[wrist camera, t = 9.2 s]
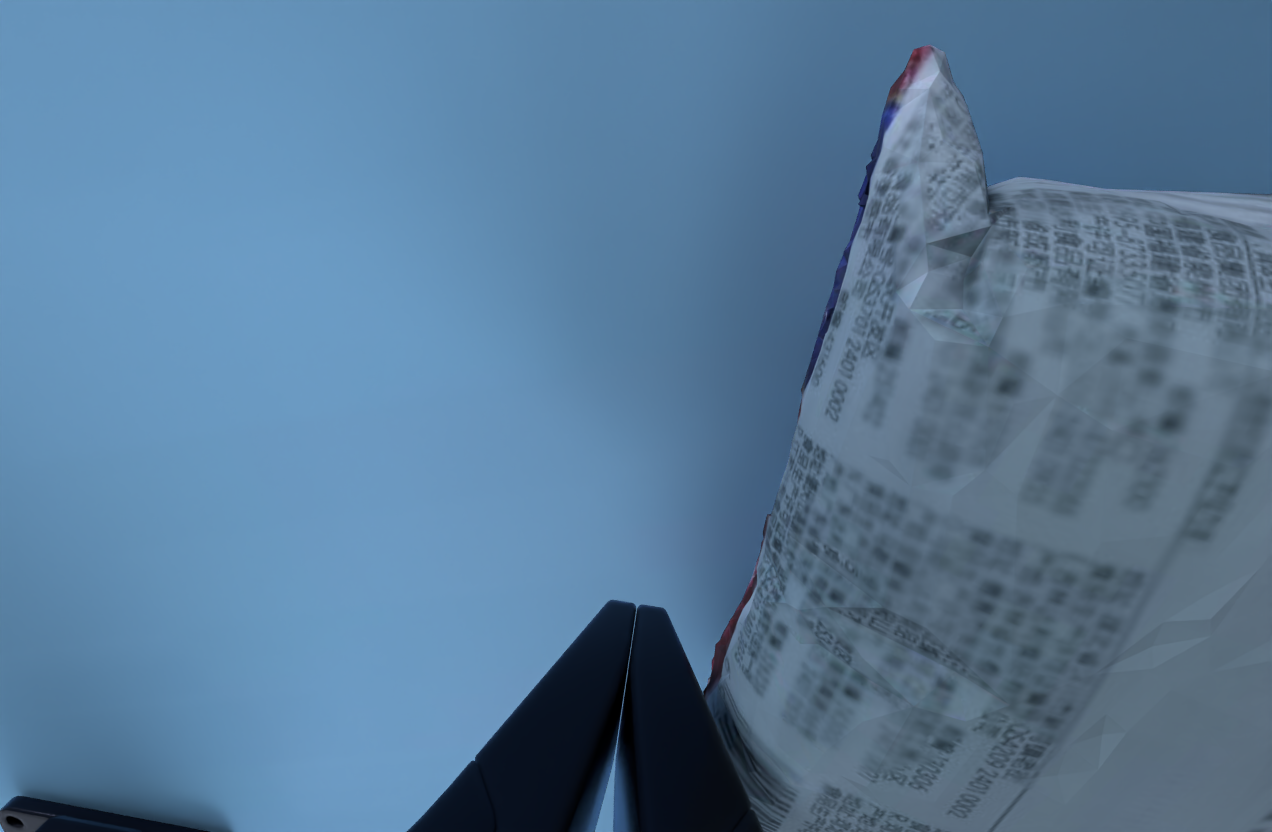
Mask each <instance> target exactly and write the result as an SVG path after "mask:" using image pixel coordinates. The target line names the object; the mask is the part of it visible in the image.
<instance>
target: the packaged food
mask: <svg viewBox="0 0 1272 832" xmlns="http://www.w3.org/2000/svg"><path fill="white" fill-rule="evenodd" d="M871 157H872V161H871V162H870V163H869V164H868V165H867V166H866V170H867V175H866V177H865V180H864V182H863V185H862V187H861V190H860V192H859V195H858V197H859V199H860V202H859V205H860V209H859V213H858V216H857V219H856V223H855V226H854V229H853V232H852V236H851V239H850V242H849V244H848V246H847V247H846V249H845V251H844V255H843V257H842V259H841V261H840V264H839V266H838V268H837V271H836V276H835V282H834V287H833V290H832V293H831V296H830V298H829V301H828V304H827V306H826V310H825V313H824V317H823V321H822V324H821V328H820V331H819V334H818V337H817V341H816V344H815V348H814V351H813V355H812V358H811V362H810V365H809V368H808V371H807V374H806V377H805V380H804V383H803V386H802V389H801V392H802V400H801V405H800V409H799V415H798V421H797V426H796V430H795V433H794V436H793V440H792V444H791V449H790V454H789V459H788V464H787V466H786V469H785V472H784V474H783V477H782V480H781V483H780V487H779V490H778V493H777V497H776V501H775V504H774V507H773V511H772V514H769V515H767V517H766V522H765V526H764V530H763V536H764V539H763V541H762V544H761V551H760V555H759V557H758V559H757V563H756V566H755V569H754V572H753V575H752V578H751V580H750V583H749V585H748V587H747V590H746V592H745V595H744V597H743V599H742V601H741V603H740V605H739V606H738V608H737V610H736V612H735V613H734V615H733V617H732V618H731V620H730V621H729V624H728V625H727V627H726V629H725V630H724V632H723V634H722V637H721V640H720V641H719V642H718V643H717V644H716V646H715V655H714V658H713V660H712V674H711V677H710V678H709V679H708V684H707V686H706V688H705V690H704V691H703V695H704V697H705V700H706V702H707V704H708V707H709V709H710V711H711V713H712V716H713V718H714V720H715V722H716V725H717V727H718V729H719V732H720V734H721V736H722V738H723V741H724V743H725V745H726V747H727V750H728V752H729V754H730V756H731V759H732V761H733V763H734V766H735V768H736V770H737V772H738V775H739V777H740V779H741V781H742V784H743V786H744V788H745V791H746V793H747V795H748V797H749V800H750V802H751V804H752V807H751V809H752V810H754V811H755V813H756V815H757V817H758V819H759V822H760V824H761V826H762V828H763V831H764V832H1272V194H1242V193H1212V192H1183V191H1153V190H1124V189H1104V188H1097V187H1091V186H1084V185H1078V184H1072V183H1065V182H1059V181H1052V180H1046V179H1036V178H1026V177H1016V178H1013V179H1010V180H1007V181H1004V182H1000V183H997V184H994V185H991V186H988V187H987V184H986V176H985V168H984V161H983V153H982V150H981V147H980V144H979V141H978V138H977V135H976V132H975V128H974V125H973V122H972V119H971V116H970V113H969V110H968V107H967V105H966V103H965V100H964V97H963V95H962V94H961V92H960V91H959V89H958V88H957V86H956V85H955V83H954V82H953V78H952V75H951V71H950V68H949V65H948V61H947V58H946V54H945V52H943V51H941V50H939V49H937V48H935V47H933V46H932V45H930V44H929V45H926V46H923V47H920V48H917V49H914V50H913V53H912V55H911V57H910V59H909V62H908V64H907V66H906V69H905V70H904V72H903V73H902V74H901V75H900V77H899V78H898V79H897V80H896V82H895V83H894V84H893V85H892V87H891V88H890V91H889V95H888V98H887V101H886V105H885V108H884V111H883V115H882V119H881V125H880V130H879V136H878V141H877V143H876V145H875V147H874V150H873V152H872V154H871Z"/></svg>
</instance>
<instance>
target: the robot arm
mask: <svg viewBox="0 0 1272 832" xmlns="http://www.w3.org/2000/svg"><path fill="white" fill-rule="evenodd" d="M635 613H636V606H635V604H634V603H630V602H624V601H617V600H610V601H608V602H607V603H606V604H605V606H604V607H603V608H602V609H601V610H600V611H599V613H598V614H597V615H596V616H595V617H594V618H593V620H592V621H591V622H590V623H589V624H588V625H587V627H586V628H585V629H584V630H583V631H582V632H581V634H580V635H579V636H578V637H577V638H576V640H575V641H574V642H573V643H572V644H571V645H570V647H569V648H568V649H567V650H566V651H565V652H564V654H563V655H562V656H561V657H560V658H559V659H558V661H557V662H556V663H555V664H554V665H553V666H552V668H551V669H550V670H549V671H548V672H547V673H546V675H545V676H544V677H543V678H542V679H541V680H540V682H539V683H538V684H537V685H536V686H535V687H534V689H533V690H532V691H531V692H530V693H529V694H528V696H527V697H526V698H525V699H524V700H523V701H522V703H521V704H520V705H519V706H518V707H517V709H516V710H515V711H514V712H513V713H512V714H511V716H510V717H509V718H508V719H507V720H506V721H505V723H504V724H503V725H502V726H501V727H500V728H499V730H498V731H497V732H496V733H495V734H494V735H493V737H492V738H491V739H490V740H489V741H488V742H487V744H486V745H485V746H484V747H483V748H482V749H481V751H480V752H479V753H478V754H477V755H476V757H475V761H471V762H470V763H469V764H468V765H467V767H466V768H465V769H464V770H463V771H462V772H461V774H460V775H459V776H458V777H457V778H456V779H455V781H454V782H453V783H452V784H451V785H450V786H449V787H448V789H447V790H446V791H445V792H444V793H443V794H442V795H441V796H440V797H439V798H438V800H437V801H436V802H435V803H434V804H433V805H432V806H431V807H430V808H429V809H428V811H427V812H426V813H425V814H424V815H423V816H422V817H421V818H420V819H419V820H418V821H417V822H416V823H415V824H414V825H413V826H412V827H411V828H410V829H409V830H408V831H407V832H595V829H596V825H597V821H598V818H599V814H600V810H601V806H602V803H603V799H604V795H605V792H606V788H607V784H608V780H609V777H610V772H611V768H612V764H613V760H614V754H615V748H616V743H617V736H618V729H619V722H620V716H621V709H622V702H623V695H624V689H625V682H626V675H627V668H628V662H629V668H628V675H627V682H626V689H625V696H624V703H623V710H622V716H621V723H620V730H619V737H618V744H617V753H616V763H615V784H614V820H613V832H764V831H763V828H762V826H761V824H760V822H759V819H758V817H757V815H756V813H755V811H754V810H752V809H751V807H752V804H751V802H750V800H749V797H748V795H747V793H746V791H745V788H744V786H743V784H742V781H741V779H740V777H739V775H738V772H737V770H736V768H735V766H734V763H733V761H732V759H731V756H730V754H729V752H728V750H727V747H726V745H725V743H724V741H723V738H722V736H721V734H720V732H719V729H718V727H717V725H716V722H715V720H714V718H713V716H712V713H711V711H710V709H709V707H708V704H707V702H706V700H705V697H704V695H703V693H702V691H701V688H700V686H699V684H698V682H697V679H696V677H695V675H694V673H693V670H692V668H691V666H690V663H689V661H688V659H687V657H686V654H685V652H684V650H683V648H682V645H681V643H680V641H679V638H678V636H677V634H676V632H675V629H674V627H673V625H672V623H671V620H670V618H669V616H668V614H667V612H666V610H665V609H664V608H661V607H655V606H648V605H640V606H639V607H638V608H637V614H636V621H635V627H634V620H635ZM633 627H634V634H633ZM632 634H633V641H632ZM631 641H632V648H631ZM630 648H631V654H630ZM629 655H630V661H629ZM0 824H1V826H2V828H3V830H4V832H209V831H203V830H198V829H193V828H188V827H182V826H177V825H172V824H166V823H161V822H156V821H151V820H145V819H140V818H135V817H130V816H124V815H119V814H114V813H109V812H103V811H98V810H93V809H88V808H82V807H77V806H72V805H66V804H61V803H56V802H51V801H45V800H40V799H35V798H30V797H24V796H16V797H14V798H12V799H11V800H10V801H9V802H8V803H7V804H6V805H5V806H4V807H3V808H2V809H1V810H0Z"/></svg>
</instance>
